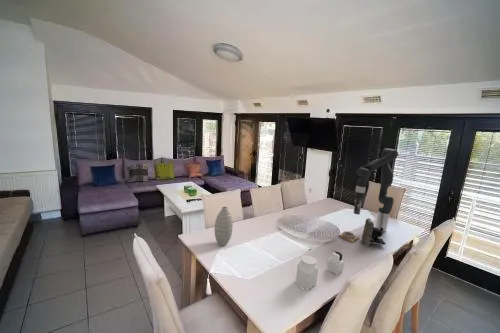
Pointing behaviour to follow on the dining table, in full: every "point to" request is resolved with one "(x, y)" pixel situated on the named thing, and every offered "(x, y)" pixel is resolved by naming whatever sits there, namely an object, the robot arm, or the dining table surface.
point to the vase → (223, 227)
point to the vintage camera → (371, 233)
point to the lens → (357, 209)
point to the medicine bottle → (336, 263)
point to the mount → (348, 236)
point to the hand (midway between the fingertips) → (357, 210)
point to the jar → (307, 272)
